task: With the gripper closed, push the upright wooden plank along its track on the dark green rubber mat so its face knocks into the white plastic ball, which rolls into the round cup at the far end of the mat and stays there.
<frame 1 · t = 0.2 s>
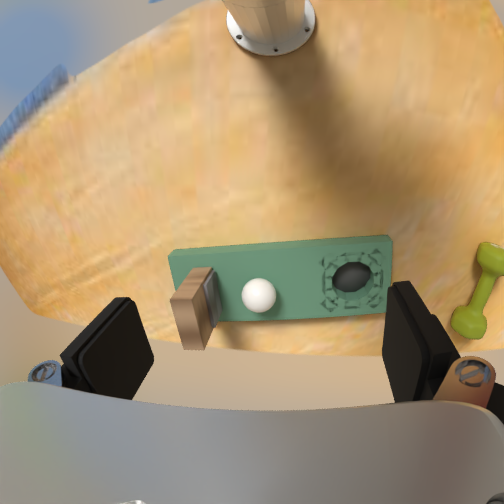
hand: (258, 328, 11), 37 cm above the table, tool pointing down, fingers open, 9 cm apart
dumbbell: (473, 281, 46), on the table
upright wooden plank: (199, 306, 45), point 8 cm above the table, slide at 0.0 cm
ball: (258, 295, 46), point 5 cm above the table, touching putting mat
putting mat: (281, 277, 50), on the table
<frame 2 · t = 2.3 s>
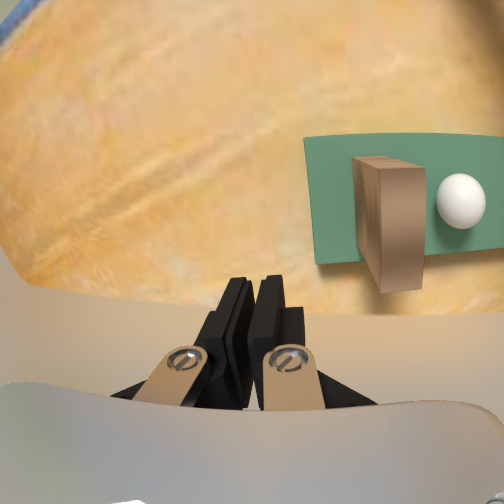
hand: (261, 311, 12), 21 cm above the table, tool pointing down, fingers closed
upright wooden plank: (387, 213, 22), point 8 cm above the table, slide at 0.0 cm
ball: (461, 201, 24), point 5 cm above the table, touching putting mat
putting mat: (460, 189, 28), on the table
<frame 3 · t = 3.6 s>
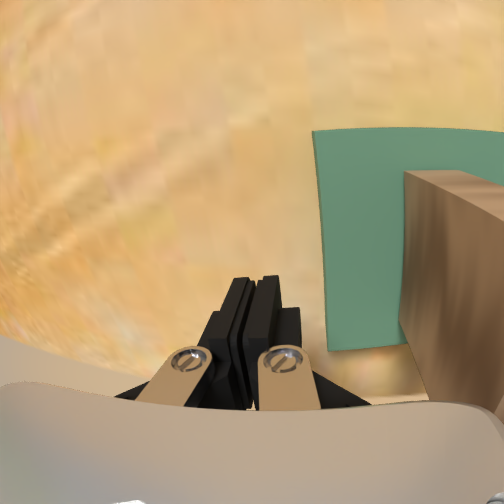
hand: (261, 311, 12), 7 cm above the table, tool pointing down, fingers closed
upright wooden plank: (479, 298, 9), point 8 cm above the table, slide at 0.0 cm
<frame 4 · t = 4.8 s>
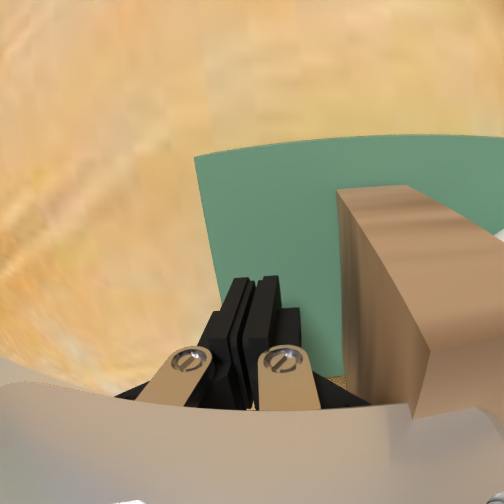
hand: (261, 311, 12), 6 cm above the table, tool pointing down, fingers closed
upright wooden plank: (411, 345, 9), point 8 cm above the table, slide at 1.6 cm, touching gripper
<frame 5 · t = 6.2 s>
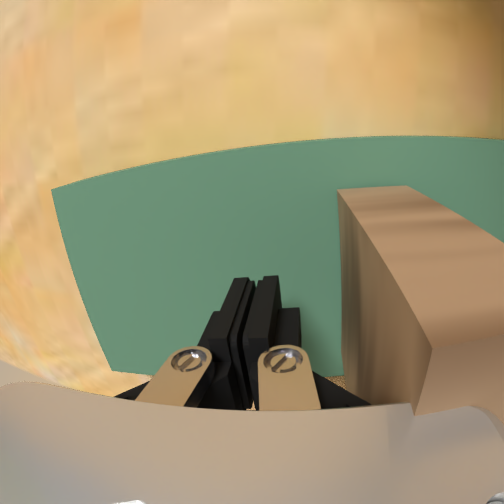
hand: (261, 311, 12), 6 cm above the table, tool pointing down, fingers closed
upright wooden plank: (411, 344, 9), point 8 cm above the table, slide at 10.2 cm, touching gripper
putting mat: (383, 249, 16), on the table
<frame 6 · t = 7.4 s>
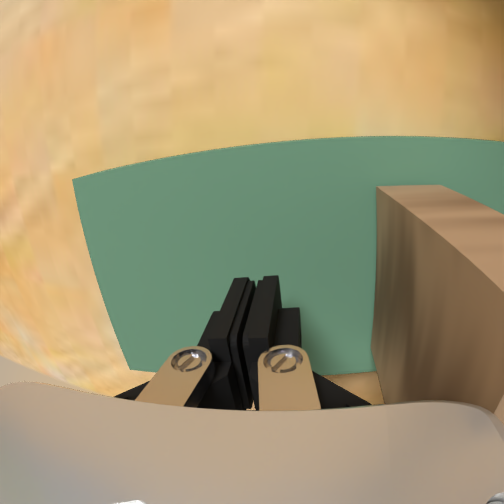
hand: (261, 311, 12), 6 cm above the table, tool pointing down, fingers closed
upright wooden plank: (453, 336, 8), point 8 cm above the table, slide at 10.3 cm
putting mat: (409, 246, 16), on the table
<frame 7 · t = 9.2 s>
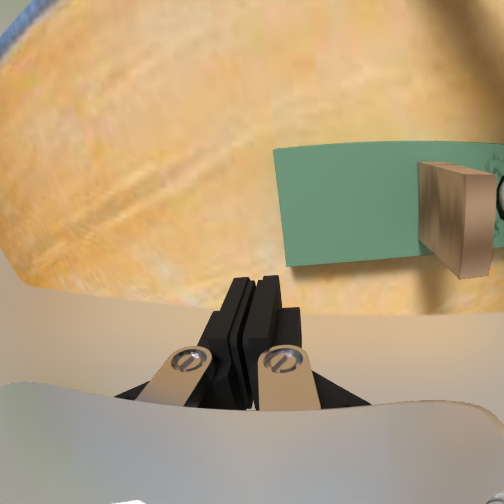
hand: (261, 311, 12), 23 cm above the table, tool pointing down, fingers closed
upright wooden plank: (454, 212, 23), point 8 cm above the table, slide at 10.3 cm
putting mat: (429, 194, 31), on the table
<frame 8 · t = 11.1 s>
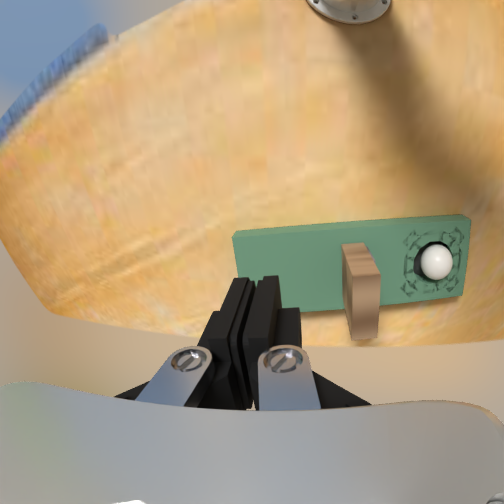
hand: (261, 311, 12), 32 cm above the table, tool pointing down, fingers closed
upright wooden plank: (360, 288, 37), point 8 cm above the table, slide at 10.3 cm
ball: (436, 262, 40), point 3 cm above the table, tilted 9°, touching putting mat
putting mat: (357, 261, 44), on the table
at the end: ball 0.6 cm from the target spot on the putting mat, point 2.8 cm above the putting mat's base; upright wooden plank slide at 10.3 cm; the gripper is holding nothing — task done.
